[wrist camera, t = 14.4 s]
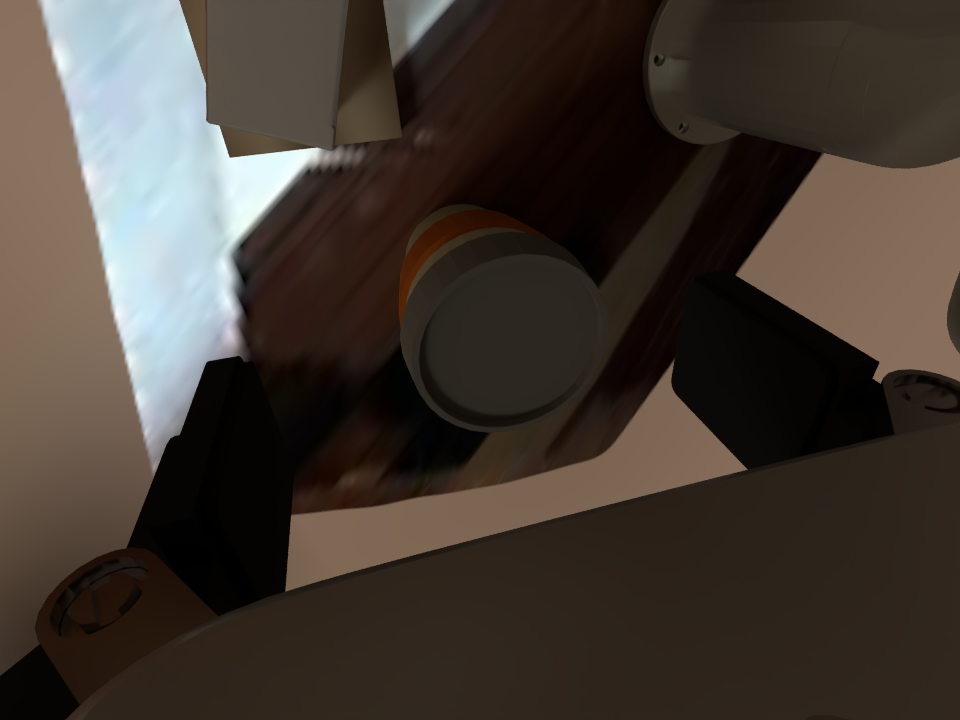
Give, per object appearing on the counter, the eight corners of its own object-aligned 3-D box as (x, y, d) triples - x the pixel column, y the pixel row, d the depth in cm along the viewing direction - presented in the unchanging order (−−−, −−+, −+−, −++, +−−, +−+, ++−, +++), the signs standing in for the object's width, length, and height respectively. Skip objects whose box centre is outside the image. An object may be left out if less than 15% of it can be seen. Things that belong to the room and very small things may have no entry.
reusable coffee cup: (437, 351, 46) (476, 466, 34) (349, 240, 39) (359, 336, 27) (555, 273, 45) (641, 364, 33) (487, 145, 38) (563, 200, 26)
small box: (240, -66, 27) (201, -110, 19) (348, -30, 29) (357, -55, 21) (237, 98, 31) (202, 124, 22) (332, 121, 33) (334, 153, 24)
